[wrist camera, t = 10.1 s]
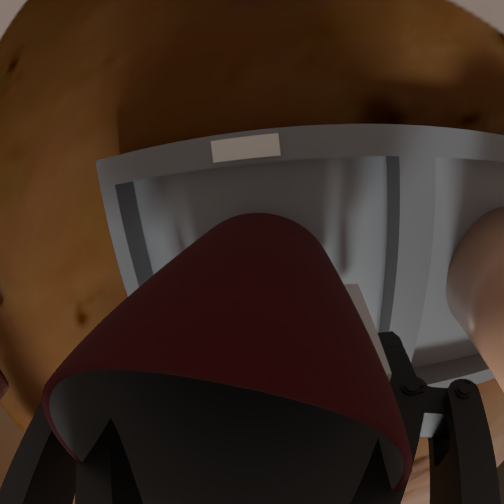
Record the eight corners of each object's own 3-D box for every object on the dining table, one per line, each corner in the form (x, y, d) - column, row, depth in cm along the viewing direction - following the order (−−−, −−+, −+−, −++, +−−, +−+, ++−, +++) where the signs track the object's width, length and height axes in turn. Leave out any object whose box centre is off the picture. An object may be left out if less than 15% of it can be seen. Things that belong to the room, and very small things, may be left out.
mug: (348, 377, 17) (368, 538, 7) (215, 387, 19) (170, 533, 8) (337, 183, 13) (467, 327, 3) (158, 213, 15) (-14, 343, 4)
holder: (180, 384, 22) (170, 409, 20) (119, 156, 16) (93, 161, 13) (523, 346, 18) (536, 363, 15) (562, 149, 11) (585, 155, 9)
